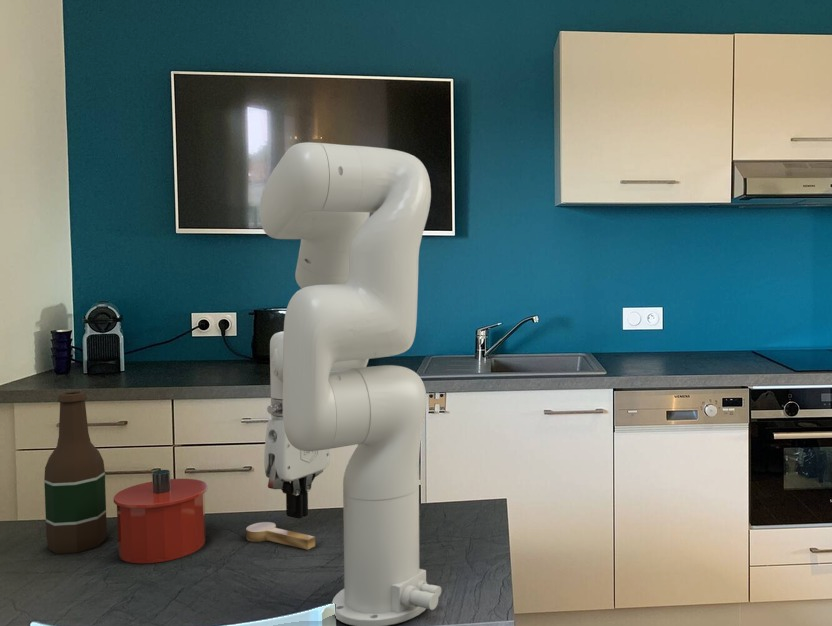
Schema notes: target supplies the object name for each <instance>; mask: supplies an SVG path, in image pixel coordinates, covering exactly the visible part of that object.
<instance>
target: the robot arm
mask: <svg viewBox="0 0 832 626" xmlns="http://www.w3.org/2000/svg"><path fill="white" fill-rule="evenodd" d="M431 200H432V188H431V181H430V176H429V173H428V170H427V168H426V166H425V165H424V163H423V162H422V161H421V159H419V158H418V157H416V156H415V155H412V154H410V153H408V152H405V151H402V150H397V149H392V148H385V147H376V146H365V145H348V144H337V143H325V142H310V141H309V142H308V141H307V142H299V143H296V144H294V145H291V146H290V147H289V148H288V149H287V150H286V151H285V152H284V154H283V156H282V157H281V158H280V160H279V162H277V165H276V166H275V167H274V169H273V170H272V171H271V174H270V175H269V177H268V179H267V180H266V182H265V185H264V187H263V190H262V192H261V197H260V201H259V211H258V212H259V221H260V226H261V228H262V231H264V233H265V234H266V235H267V236H268V237H270V238H271V239H276V240H300V243H299V246H300V247H299V250H298V256H297V263H296V267H295V271H294V272H295V275H294V277H295V281H296V284H297V285H298V287H299V288H300V289H299V290H297V291H296V292H295V293H294V294H293V295H292V296H291V298H290V299H289V301H288V304H287V307H286V309H285V314H284V320H283V331H279V332H275V333H274V334H273V335H272V336H271V338H270V340H269V361H270V362H269V368H270V369H269V370H270V371H269V372H270V373H269V375H270V380H269V381H270V405H268V406H267V408H266V410H267V413H268V414H269V415H270V417H269V418H268V421H267V426H266V431H265V432H266V433H265V441H264V460H263V461H264V463H263V464H264V474H265V477H266V478H267V479H268V481H267V488H268V489H270V490H281V491H282V493H283V494H285V508H286V509H285V511H286V513H285V514H286V516H287V517H290V518H294V519H298V520H300V519H302V518H304V517H307V516H308V515H309V492H310V491H311V490H312V483H313V482H314V480H315V478H316V477H318V476H319V475H320V474H322V473H324V470H326V469H327V467H329V465H330V456H331V455H330V449H336V448H337V449H338V448H344V447H350V446H356V447H355V449H354V451H353V453H352V455H351V456H350V458H349V460H348V462H347V464H346V467H345V470H344V472H343V473H344V474H343V478H342V479H343V480H342V500H343V502H342V503H343V504H342V505H343V507H342V509H343V513H342V515H343V583H344V584H343V586H344V587H343V588H342V589H341V590H340V591H338V592H337V593H336V594H335V596H333V598H332V601H331V604H332V603H335V604H336V618H335V619H336V620H338V621H339V622H341V623H343V624H346V625H349V626H394V625H397V624H400V623H404V622H407V621H410V620H412V619H414V618H415V617H417V616H419V615H421V614H422V613H424V612H426V610H430V611H433V610H435V609H436V608H437V606H438V604H439V597H440V596H441V594H442V587H441V586H440V585H435V584H429V583H428V581H427V570H426V569H423V568H420V453H421V451H420V449H421V441H422V440H421V439H422V433H423V428H424V421H425V416H426V409H427V390H426V386H425V384H424V381H423V380H422V378H421V377H420V375H419V374H418V373H417V372H416V371H414V370H412V368H411V369H410V368H409V367H405V366H401V365H393V364H389V365H388V364H387V365H376V366H375V365H374V366H373V365H372V366H368V364H369V360H371V359H380V358H386V357H393V356H399V355H401V354H404V353H406V352H407V351H408V350H410V348H411V347H412V345H413V343H414V341H415V338H416V331H417V322H418V321H417V320H418V295H419V258H420V247H421V243H422V239H423V234H424V230H425V228H426V224H427V221H428V217H429V212H430V207H431V203H432V202H431ZM371 213H372V214H371ZM370 214H371V215H370Z"/></svg>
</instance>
